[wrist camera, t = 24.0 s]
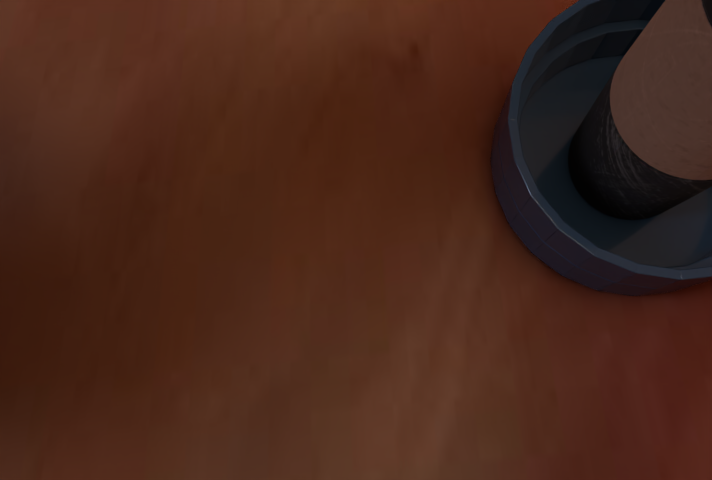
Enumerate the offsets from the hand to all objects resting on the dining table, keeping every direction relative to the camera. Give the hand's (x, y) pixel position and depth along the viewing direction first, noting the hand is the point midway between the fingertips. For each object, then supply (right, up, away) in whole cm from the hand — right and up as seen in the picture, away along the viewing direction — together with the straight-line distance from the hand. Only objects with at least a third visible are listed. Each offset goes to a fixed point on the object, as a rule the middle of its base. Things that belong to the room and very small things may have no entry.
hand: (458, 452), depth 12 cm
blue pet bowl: (+14, +8, +27) cm, 32 cm away
